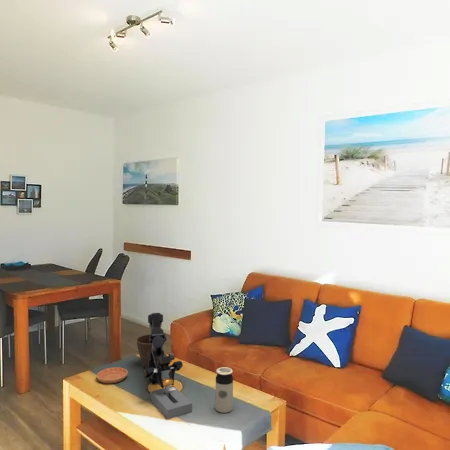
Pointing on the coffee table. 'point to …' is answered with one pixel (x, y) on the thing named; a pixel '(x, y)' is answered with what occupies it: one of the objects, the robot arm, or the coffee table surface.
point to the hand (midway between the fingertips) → (168, 386)
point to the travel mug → (224, 390)
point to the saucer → (112, 375)
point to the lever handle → (167, 385)
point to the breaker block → (171, 402)
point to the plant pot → (144, 349)
